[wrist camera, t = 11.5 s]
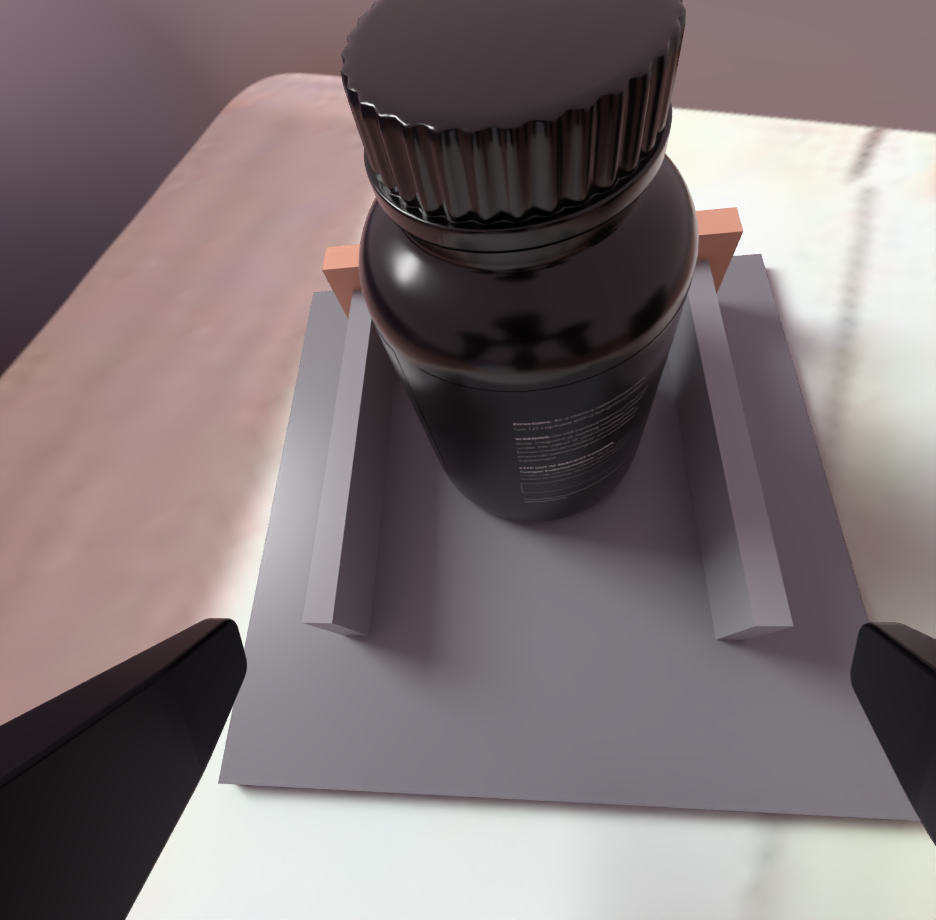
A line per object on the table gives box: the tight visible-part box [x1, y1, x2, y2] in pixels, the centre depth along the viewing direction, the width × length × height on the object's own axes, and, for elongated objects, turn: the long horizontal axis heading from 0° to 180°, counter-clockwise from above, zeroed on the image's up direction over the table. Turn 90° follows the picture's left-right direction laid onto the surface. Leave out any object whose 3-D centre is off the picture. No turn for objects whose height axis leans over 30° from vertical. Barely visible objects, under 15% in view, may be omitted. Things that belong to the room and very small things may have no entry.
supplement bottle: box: [341, 0, 699, 522], centre depth 12 cm, size 7×7×12 cm
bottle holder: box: [218, 207, 920, 821], centre depth 15 cm, size 18×18×5 cm
